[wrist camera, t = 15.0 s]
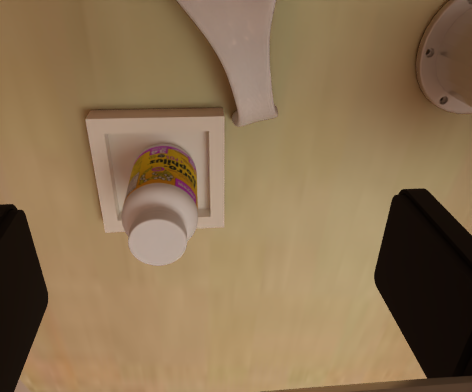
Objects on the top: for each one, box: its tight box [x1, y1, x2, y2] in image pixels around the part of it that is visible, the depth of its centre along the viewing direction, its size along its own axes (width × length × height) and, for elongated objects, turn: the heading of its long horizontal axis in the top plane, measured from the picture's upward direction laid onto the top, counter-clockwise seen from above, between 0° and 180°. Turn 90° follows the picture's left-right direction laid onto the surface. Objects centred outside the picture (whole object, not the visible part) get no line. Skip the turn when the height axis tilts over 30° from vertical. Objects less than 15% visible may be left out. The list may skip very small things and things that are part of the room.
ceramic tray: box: [85, 108, 224, 233], centre depth 44 cm, size 13×13×2 cm
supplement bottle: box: [121, 144, 198, 266], centre depth 39 cm, size 7×7×13 cm
